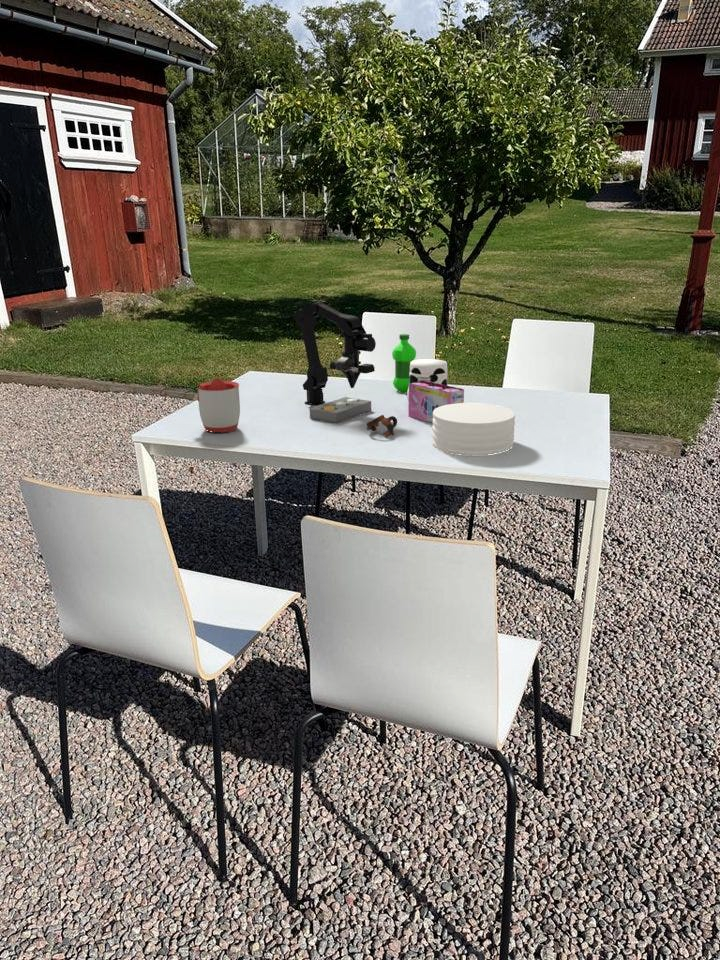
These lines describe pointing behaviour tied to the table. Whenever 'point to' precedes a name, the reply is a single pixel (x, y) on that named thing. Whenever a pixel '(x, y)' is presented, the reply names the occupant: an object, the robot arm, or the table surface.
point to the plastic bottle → (403, 363)
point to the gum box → (431, 398)
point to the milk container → (428, 371)
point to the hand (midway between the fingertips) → (352, 387)
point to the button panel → (340, 410)
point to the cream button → (352, 400)
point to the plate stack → (473, 428)
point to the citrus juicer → (219, 405)
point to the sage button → (341, 404)
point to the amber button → (329, 408)
